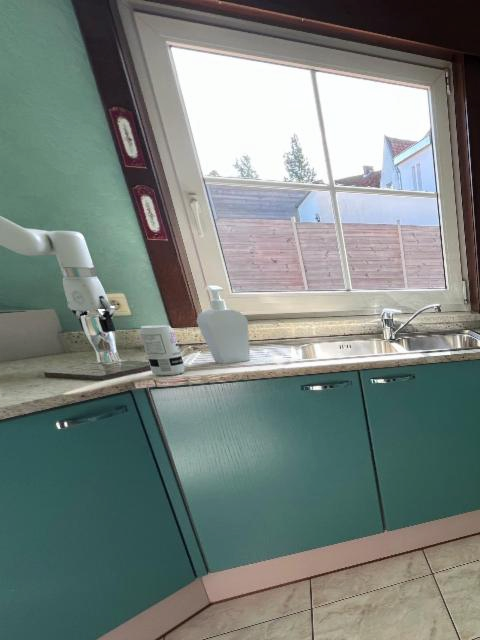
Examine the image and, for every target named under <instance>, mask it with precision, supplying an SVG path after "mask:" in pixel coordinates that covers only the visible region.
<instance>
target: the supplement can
mask: <svg viewBox="0 0 480 640" xmlns="http://www.w3.org/2000/svg"><path fill="white" fill-rule="evenodd" d="M139 336H140V338H141V342H142V346H143V348H144V351H145V355H146V357H147V362H149V364H150V367H151V370H150V371H151V373H152V374H153V375H155V376H156V375H172V376H174V375H173V374H178V375H181V374H180V373H182V374H184V373H185V371H186V367H185V363H184V360H183V356H182V354H181V353H182V352H181V350H180V346H179V342H178V340H177V336H176V333H175V330H174V329H173V328H172V326H171V325H170V324H149V325H142V326H140V329H139ZM183 372H184V373H183Z"/></svg>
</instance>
